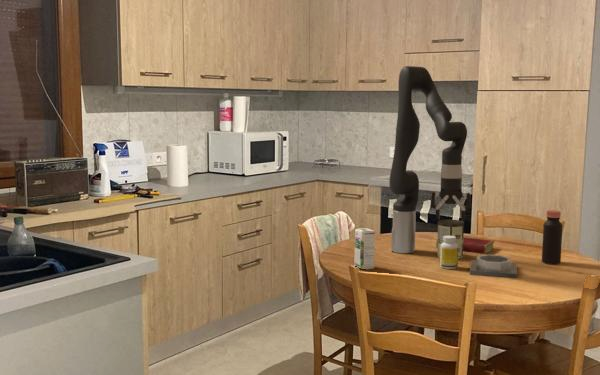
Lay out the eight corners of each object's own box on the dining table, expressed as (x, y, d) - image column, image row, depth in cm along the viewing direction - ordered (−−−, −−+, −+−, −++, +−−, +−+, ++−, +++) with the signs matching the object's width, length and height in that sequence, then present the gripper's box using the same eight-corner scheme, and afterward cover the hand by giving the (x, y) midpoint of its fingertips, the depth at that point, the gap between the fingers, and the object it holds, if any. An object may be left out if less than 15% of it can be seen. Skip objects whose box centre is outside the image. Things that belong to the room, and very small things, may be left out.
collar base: (469, 274, 229) (470, 262, 229) (471, 263, 244) (472, 252, 244) (516, 278, 225) (517, 265, 224) (515, 266, 240) (516, 255, 239)
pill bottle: (457, 269, 236) (458, 239, 234) (440, 269, 237) (440, 238, 235) (457, 265, 242) (458, 235, 240) (439, 264, 243) (440, 234, 242)
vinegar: (546, 259, 251) (548, 209, 248) (563, 262, 246) (566, 211, 244) (538, 262, 246) (541, 211, 244) (555, 265, 241) (558, 213, 239)
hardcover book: (485, 255, 260) (485, 245, 259) (436, 248, 271) (436, 239, 271) (494, 249, 270) (494, 240, 269) (446, 243, 281) (446, 234, 281)
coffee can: (445, 251, 264) (446, 218, 262) (467, 256, 257) (469, 221, 255) (431, 256, 256) (432, 221, 255) (454, 260, 249) (455, 225, 248)
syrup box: (353, 266, 240) (354, 228, 238) (367, 265, 243) (368, 227, 241) (361, 270, 235) (361, 231, 233) (375, 268, 237) (375, 230, 235)
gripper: (430, 177, 233) (429, 220, 235) (470, 178, 229) (469, 222, 231) (432, 175, 241) (431, 217, 243) (471, 176, 236) (470, 219, 238)
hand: (450, 220), depth 237 cm, fingers open, 8 cm apart
